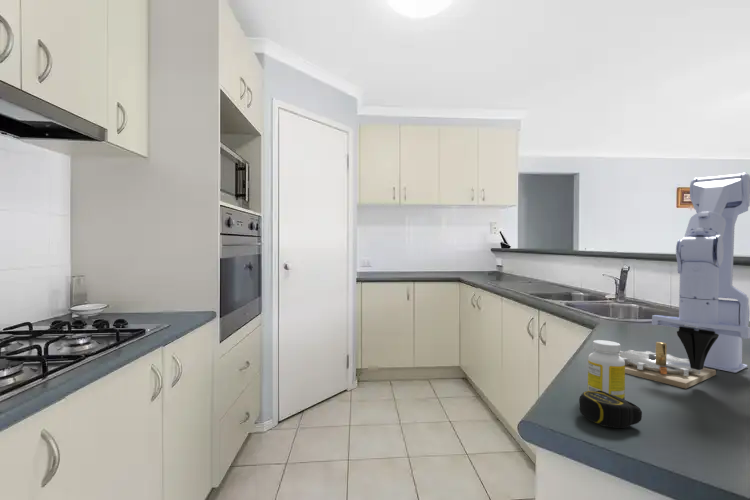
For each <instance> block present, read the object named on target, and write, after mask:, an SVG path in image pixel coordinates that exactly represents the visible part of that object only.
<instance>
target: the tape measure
mask: <svg viewBox="0 0 750 500" xmlns="http://www.w3.org/2000/svg"><path fill="white" fill-rule="evenodd" d="M578 404H579V411H580V415H582V416H583V417H584V418H586V419H587V420H588V421H590V422H594V423H596V424H598V425H601V426H603V427H609V428H613V429H614V428H616V429H625V428H629V427H630V426H633V425H636V424H638V423H640V422H641V421H642V417H643V412H642V410H641V408H640V407H639V406H638V405H636V404H635V403H634V402H633V403H632V402H630V401H628V400H627V399H625V400H624V399H622V398H619V397H617V396H614V395H611V394H609V393H606V392H604V391H596V392H594V391H588V390H587V391H584V392H582V394H581V395H580V396H579V399H578Z"/></svg>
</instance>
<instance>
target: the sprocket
mask: <svg viewBox="0 0 750 500" xmlns="http://www.w3.org/2000/svg"><path fill="white" fill-rule="evenodd" d="M667 344H668V343H666V342H661V341H656V342H655V352H652V351H649V350H645V351H636V350H632V349H628V350H626V351H623V350H621V351H620V353H619V356H620V357H622V358H623V359H624V361H625V365H631V366H634V367H637V369H640V370H645V369H646V370H651V371H656V372H660V373H661V374H667V373H672V374H680V375H683V376H689V373H693V374H698V375H699V374H700V371H701V370H697V369H692V368H691V367H690V362H689V358H680V357H677V356H674V355H673V354H669V353H667V352H668V350H667V349H668V345H667Z"/></svg>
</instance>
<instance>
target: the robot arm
mask: <svg viewBox="0 0 750 500" xmlns="http://www.w3.org/2000/svg"><path fill="white" fill-rule="evenodd" d="M689 198H690V201H691V204H692V206H693V209H694V211H695V212H696V213H695V214H693V215H692V216H690V218H689V221H688V224H687V226H686V227H687V228H686V231H685V234H684V236H683V238H682V239H679V238H678V240H677V242H676V245H675V246H676V247H675V257H676V263H677V273H678V274H679V290H678V292H679V299H678V316H668V315H660V314H654V315H653V314H652V316H651V325H653V326H663V327H668V328H669V327H670V328H675V329H678V330H677V331H676V334H677V337H678V338H679V340H680V342H681V343H682V345H683V347H684V349H685V351H686V354H687V359H689V362H690V367H691V368H692V369H697V370H701V369H703V367H704V368H709V369H714V370H721V371H725V372H729V373H736V374H737V373H738V372H740V371H742V370H744V369H746V368H748V364H745V363H743V339H745V340H746V339H747V340H748V339H750V326H749V323H750V304H749V297H748V294H746V293H745V292H743V291H742V290H740V289H739V288H737V287H735V286H734V285H733V280H734V279H733V277H734V275H733V274H734V249H735V226H736V222H737V219H738V217H739V215H741V214H743V213H745V212H748V211H749V207H750V174H748V173H747V172H742V173H735V174H724V175H716V176H705V177H694V178H693V179H692V180H691V181H690V184H689ZM719 298H720V299H719ZM728 299H729V300H728ZM730 299H732V300H730Z"/></svg>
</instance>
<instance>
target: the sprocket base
mask: <svg viewBox="0 0 750 500" xmlns="http://www.w3.org/2000/svg"><path fill="white" fill-rule="evenodd" d="M625 374H627V375H631V376H635V377H639V378H643V379H647V380H650V381H655V382H659V383H662V384H667V385H671V386H674V387H678V388H682V389H685V390H686V389H688V388H690V387H693V386H695V385H697V384H699V383H701V382H703V381H705V380H707V379H710V378H712V377H714V376H716V375H717V369H714V368H709V367H705V366H703V369H701V371H700V374H699V375H698V374H693V373H689V376H683V375H680V374H672V373H667V374H661V373H660V372H656V371H651V370H646V369H645V370H640V369H637V367H634V366H631V365H625Z"/></svg>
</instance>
